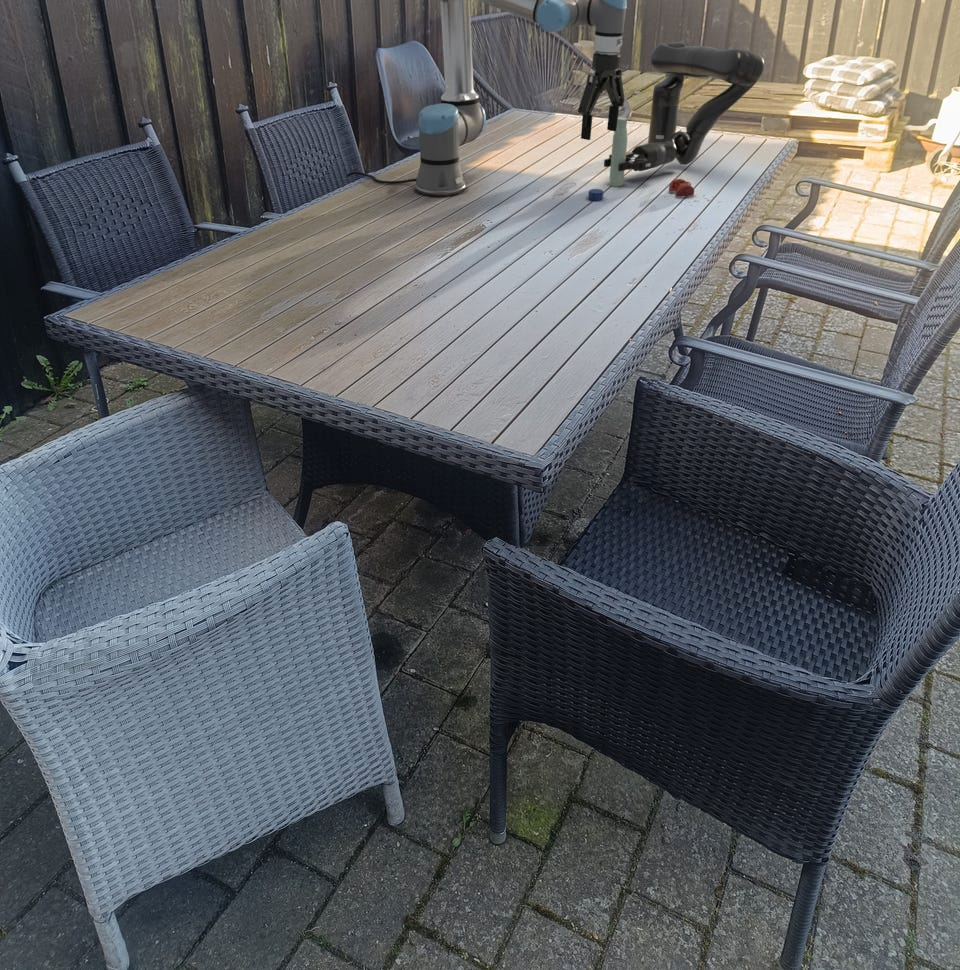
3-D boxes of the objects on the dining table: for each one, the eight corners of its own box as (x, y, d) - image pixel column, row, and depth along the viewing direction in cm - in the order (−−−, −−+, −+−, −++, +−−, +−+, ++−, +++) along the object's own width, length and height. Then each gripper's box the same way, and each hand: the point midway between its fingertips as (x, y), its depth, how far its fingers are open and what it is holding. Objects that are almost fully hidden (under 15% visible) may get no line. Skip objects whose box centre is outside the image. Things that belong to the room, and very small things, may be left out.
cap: (605, 200, 250) (605, 192, 249) (591, 201, 249) (592, 193, 248) (599, 196, 253) (600, 188, 252) (586, 197, 252) (586, 189, 251)
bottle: (607, 185, 262) (613, 119, 251) (610, 181, 265) (616, 116, 254) (621, 186, 261) (627, 120, 250) (624, 183, 264) (630, 117, 253)
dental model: (685, 174, 256) (697, 182, 250) (683, 188, 258) (695, 196, 252) (668, 176, 255) (679, 184, 249) (666, 190, 257) (678, 199, 251)
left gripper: (593, 60, 219) (585, 145, 231) (642, 48, 234) (633, 129, 247) (569, 56, 222) (563, 140, 235) (619, 45, 238) (611, 124, 251)
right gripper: (633, 139, 269) (596, 148, 261) (667, 148, 260) (630, 157, 252) (630, 163, 274) (594, 173, 265) (664, 173, 265) (628, 183, 256)
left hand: (598, 134), depth 241 cm, fingers open, 13 cm apart
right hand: (612, 165), depth 258 cm, fingers open, 5 cm apart
